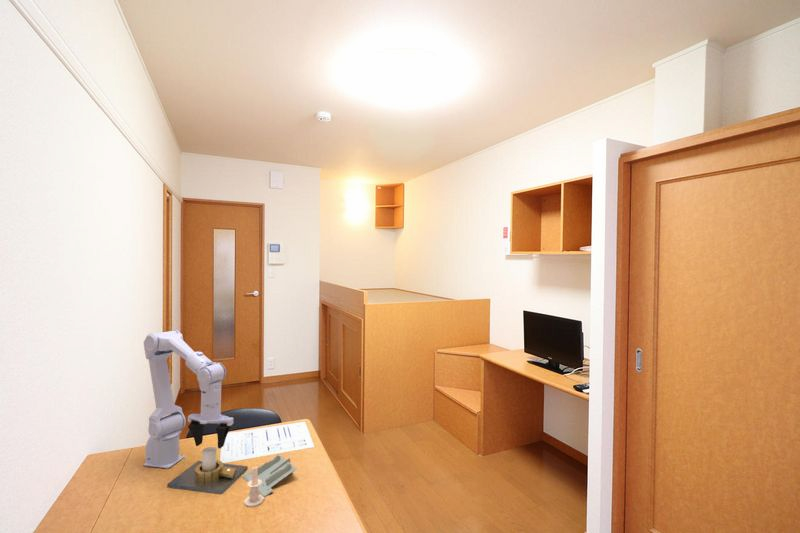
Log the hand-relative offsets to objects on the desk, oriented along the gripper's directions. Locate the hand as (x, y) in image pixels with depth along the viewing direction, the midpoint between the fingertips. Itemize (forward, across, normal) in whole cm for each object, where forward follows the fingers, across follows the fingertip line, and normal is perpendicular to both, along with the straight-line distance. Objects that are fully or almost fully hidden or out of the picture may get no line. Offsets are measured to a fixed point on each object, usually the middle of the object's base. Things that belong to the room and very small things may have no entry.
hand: (209, 445), depth 121 cm
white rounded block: (+9, 0, 0) cm, 9 cm away
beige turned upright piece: (+10, +20, -8) cm, 24 cm away
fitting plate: (+10, 0, 0) cm, 10 cm away
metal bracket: (+11, +20, +3) cm, 23 cm away
